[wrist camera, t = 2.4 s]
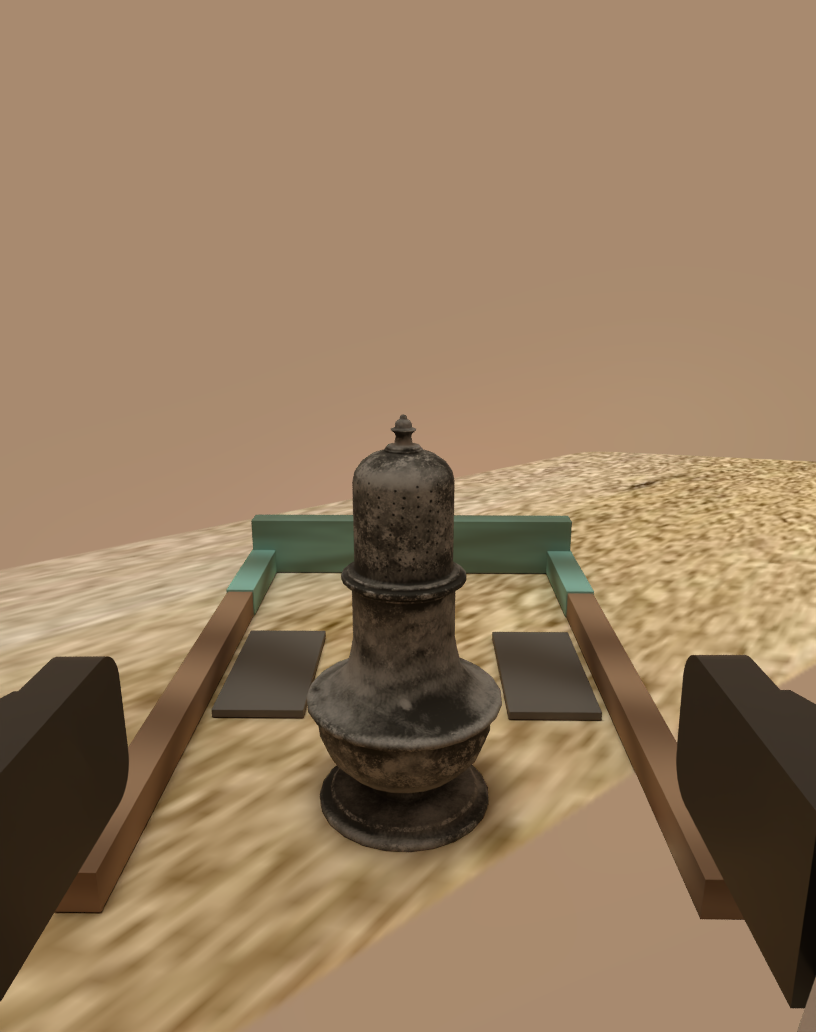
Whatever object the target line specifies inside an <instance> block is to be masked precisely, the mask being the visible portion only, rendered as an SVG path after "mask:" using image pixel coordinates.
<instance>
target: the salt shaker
mask: <svg viewBox="0 0 816 1032" xmlns="http://www.w3.org/2000/svg"><path fill="white" fill-rule="evenodd" d="M391 430H392V431H393V432H394V433H395V435H396V438H395V443H391V444H388V445H387V446H386V448H385V449H384V450H380V451H377V452H374V453H372V454H371V455H369V456H368V457H366V458H365V459H363V460H362V461H361V463H360V464H359V466H358V467H357V468H356V470H355V472H354V477H353V482H352V483H353V531H354V562H352V563H350V564H349V565H348V566H346V567H345V568H344V569H343V571H342V574H341V579H342V581H343V584H344V585H346V586H347V587H348V588H349V589H350V590H352V607H353V641H352V647H351V652H350V656H349V658H348V659H345V660H343V661H340V662H338V663H336V664H334V665H333V666H331V667H329V668H328V669H326V670H324V671H323V672H322V673H321V674H320V675H319V676H318V677H317V678H316V679H315V680H314V681H313V682H312V684H311V686H310V688H309V691H308V693H307V696H306V700H307V706H308V713H309V714H310V715H311V717H312V718H313V719H314V721H315V722H316V724H317V725H318V726H319V732H320V737H321V739H322V741H323V743H324V745H325V747H326V749H327V751H328V752H329V754H330V756H331V758H332V759H333V761H334V762H335V763H336V765H337V766H336V767H334V768H333V769H332V770H331V772H330V773H329V774H328V776H327V777H326V778H325V780H324V782H323V785H322V789H321V792H320V800H321V807H322V812H323V814H324V815H325V817H326V819H327V820H328V822H329V824H330V825H331V826H332V827H333V828H335V829H336V830H337V831H338V832H339V833H341V834H342V835H343V836H344V837H346V838H349V839H351V840H353V841H355V842H357V843H359V844H361V845H363V846H368V847H372V848H376V849H381V850H385V851H403V852H413V851H420V850H427V849H434V848H437V847H440V846H443V845H446V844H449V843H451V842H454V841H456V840H458V839H459V838H461V837H463V836H464V835H466V834H467V833H469V832H471V831H472V830H473V829H474V828H475V827H476V826H477V824H478V823H479V822H480V821H481V820H482V819H483V817H484V814H485V812H486V809H487V806H488V787H487V785H486V783H485V781H484V779H483V776H482V774H481V773H480V772H479V771H478V770H477V769H476V768H475V767H474V766H473V765H472V764H473V763H474V762H475V760H476V758H477V756H478V754H479V752H480V750H481V748H482V746H483V744H484V742H485V740H486V738H487V735H488V733H489V731H490V724H491V723H492V722H493V721H494V720H495V719H496V717H497V715H498V713H499V710H500V708H501V706H502V701H501V691H500V688H499V687H498V685H497V684H496V682H495V681H494V679H493V678H492V677H491V676H490V675H489V674H488V673H486V672H485V671H484V670H483V669H481V668H480V667H479V666H477V665H475V664H473V663H471V662H469V661H466V660H464V659H462V658H459V654H458V651H457V646H456V640H455V591H456V590H458V589H459V588H461V587H462V586H463V585H464V583H465V582H466V572H465V570H464V569H463V568H462V567H461V566H460V565H458V564H457V563H455V562H453V542H454V476H453V472H452V470H451V468H450V467H449V465H448V464H447V463H446V461H444V460H443V459H442V458H440V457H439V456H437V455H436V454H434V453H432V452H430V451H426V450H423V449H422V448H421V446H420V445H419V444H416V443H412V438H411V435H412V433H413V432H414V431H416V429H415V428H413V427H412V423H411V422H410V420H407V416H406V415H401V416H400V419H399V420H397V421H396V423H395V427H394V428H391Z"/></svg>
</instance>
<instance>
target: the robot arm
mask: <svg viewBox="0 0 816 1032" xmlns="http://www.w3.org/2000/svg"><path fill="white" fill-rule="evenodd" d="M676 770H677V779H678V785H679V790H680V793H681V797H682V800H683V802H684V804H685V806H686V808H687V810H688V812H689V814H690V816H691V818H692V820H693V822H694V824H695V826H696V827H697V829H698V831H699V833H700V835H701V837H702V839H703V841H704V843H705V845H706V847H707V849H708V851H709V852H710V854H711V856H712V858H713V860H714V862H715V864H716V866H717V868H718V870H719V872H720V874H721V876H722V877H723V879H724V881H725V883H726V885H727V887H728V889H729V891H730V893H731V895H732V897H733V899H734V900H735V902H736V904H737V906H738V908H739V910H740V912H741V914H742V916H743V918H744V920H745V922H746V923H747V925H748V927H749V929H750V931H751V933H752V935H753V937H754V939H755V941H756V943H757V945H758V946H759V948H760V950H761V952H762V954H763V956H764V958H765V960H766V962H767V964H768V966H769V967H770V970H771V972H772V973H773V975H774V977H775V979H776V981H777V983H778V985H779V987H780V989H781V991H782V993H783V994H784V997H785V998H786V1000H787V1002H788V1004H789V1006H790V1008H805V1010H804V1013H803V1016H802V1019H801V1022H800V1024H799V1027H798V1031H797V1032H816V704H814V703H812V702H810V701H809V700H807V699H805V698H803V697H802V696H800V695H798V694H796V693H794V692H793V691H791V690H780V689H779V688H778V687H777V686H776V685H775V684H774V683H773V682H772V680H771V679H770V678H769V677H768V676H767V675H766V674H765V673H764V672H763V671H762V670H761V669H760V667H759V666H758V665H757V664H756V663H755V662H754V661H753V660H752V659H751V658H750V657H749V656H747V655H691V656H690V657H689V658H688V659H687V661H686V664H685V668H684V674H683V685H682V696H681V707H680V719H679V730H678V741H677V753H676ZM128 772H129V753H128V744H127V736H126V728H125V720H124V711H123V703H122V695H121V687H120V679H119V672H118V668H117V665H116V663H115V661H114V660H113V659H112V658H111V657H55V658H53V659H51V660H50V661H49V662H48V663H47V664H46V665H45V666H44V667H43V668H42V669H41V670H40V671H39V672H38V673H37V674H36V675H35V676H34V677H33V678H32V679H30V680H29V681H28V682H27V683H26V684H25V685H24V686H23V687H22V688H21V689H20V690H19V691H13V692H12V693H10V694H8V695H6V696H4V697H2V698H0V1001H1V1000H2V999H3V997H4V995H5V994H6V992H7V990H8V989H9V987H10V985H11V984H12V982H13V980H14V979H15V977H16V975H17V974H18V972H19V970H20V969H21V967H22V965H23V964H24V962H25V960H26V959H27V957H28V955H29V954H30V952H31V950H32V949H33V947H34V945H35V944H36V942H37V940H38V939H39V937H40V935H41V934H42V932H43V930H44V929H45V927H46V925H47V924H48V922H49V920H50V919H51V917H52V915H53V914H54V912H55V910H56V909H57V907H58V905H59V904H60V902H61V900H62V899H63V897H64V895H65V894H66V892H67V890H68V889H69V887H70V885H71V884H72V882H73V880H74V879H75V877H76V876H77V874H78V872H79V871H80V869H81V867H82V866H83V864H84V862H85V861H86V859H87V857H88V856H89V854H90V852H91V851H92V849H93V847H94V846H95V844H96V842H97V841H98V839H99V837H100V836H101V834H102V832H103V831H104V829H105V827H106V826H107V824H108V822H109V821H110V819H111V817H112V816H113V814H114V812H115V811H116V809H117V807H118V806H119V804H120V802H121V800H122V798H123V795H124V792H125V789H126V785H127V780H128Z"/></svg>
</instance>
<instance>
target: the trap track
mask: <svg viewBox="0 0 816 1032" xmlns="http://www.w3.org/2000/svg"><path fill="white" fill-rule="evenodd" d="M251 522H252V539H253V550H252V551H251V553H250V554H249V556H248V557H247V559H246V560H245V562H244V564H243V565H242V567H241V568H240V570H239V571H238V573H237V574H236V576H235V577H234V579H233V581H232V582H231V584H230V585H229V587H228V588H227V594H226V595H225V597H224V598H223V600H222V601H221V603H220V605H219V606H218V608H217V609H216V611H215V612H214V614H213V615H212V617H211V619H210V620H209V622H208V623H207V625H206V626H205V628H204V630H203V631H202V633H201V634H200V636H199V637H198V639H197V641H196V642H195V644H194V645H193V647H192V648H191V650H190V651H189V653H188V655H187V656H186V658H185V659H184V661H183V662H182V664H181V666H180V667H179V669H178V670H177V672H176V673H175V675H174V676H173V678H172V680H171V681H170V683H169V684H168V686H167V687H166V689H165V691H164V692H163V694H162V695H161V697H160V698H159V700H158V702H157V703H156V705H155V706H154V708H153V709H152V711H151V712H150V714H149V716H148V717H147V719H146V720H145V722H144V723H143V725H142V727H141V728H140V730H139V731H138V733H137V734H136V736H135V737H134V739H133V741H132V742H131V744H130V745H129V747H128V753H129V772H128V780H127V785H126V789H125V792H124V795H123V798H122V800H121V802H120V804H119V806H118V807H117V809H116V811H115V812H114V814H113V816H112V817H111V819H110V821H109V822H108V824H107V826H106V827H105V829H104V831H103V832H102V834H101V836H100V837H99V839H98V841H97V842H96V844H95V846H94V847H93V849H92V851H91V852H90V854H89V856H88V857H87V859H86V861H85V862H84V864H83V866H82V867H81V869H80V871H79V872H78V874H77V876H76V877H75V879H74V880H73V882H72V884H71V885H70V887H69V889H68V890H67V892H66V894H65V895H64V897H63V899H62V900H61V902H60V904H59V905H58V907H57V909H56V910H55V912H101V911H102V909H103V907H104V905H105V903H106V901H107V900H108V898H109V896H110V894H111V892H112V890H113V888H114V886H115V884H116V882H117V880H118V878H119V876H120V874H121V872H122V870H123V868H124V866H125V865H126V863H127V861H128V859H129V857H130V855H131V853H132V851H133V849H134V847H135V845H136V843H137V841H138V839H139V837H140V835H141V833H142V831H143V829H144V828H145V826H146V824H147V822H148V820H149V818H150V816H151V814H152V812H153V810H154V808H155V806H156V804H157V802H158V800H159V798H160V796H161V794H162V793H163V791H164V789H165V787H166V785H167V783H168V781H169V779H170V777H171V775H172V773H173V771H174V769H175V767H176V765H177V763H178V761H179V759H180V757H181V756H182V754H183V752H184V750H185V748H186V746H187V744H188V742H189V740H190V738H191V736H192V734H193V732H194V730H195V728H196V726H197V724H198V722H199V720H200V719H201V717H202V715H203V713H204V711H205V709H206V707H207V705H208V703H209V701H210V699H211V697H212V695H213V693H214V691H215V689H216V687H217V685H218V684H219V682H220V680H221V678H222V676H223V674H224V672H225V670H226V668H227V666H228V664H229V662H230V660H231V658H232V656H233V654H234V652H235V650H236V648H237V647H238V645H239V643H240V641H241V639H242V637H243V635H244V633H245V631H246V629H247V627H248V625H249V623H250V621H251V619H252V617H253V615H255V613H256V612H257V610H258V608H259V606H260V604H261V602H262V600H263V598H264V596H265V594H266V592H267V590H268V588H269V586H270V584H271V582H272V580H273V578H274V576H275V574H276V572H342V571H343V569H344V568H345V567H346V566H348V565H349V564H350V563H352V562H354V531H353V515H255V517H254V518H253V519H252V521H251ZM571 527H572V521H571V520H570V518H569V517H568V516H473V515H454V542H453V562H455V563H457V564H458V565H460V566H461V567H462V568H463V569H464V570H465V572H466V573H546V574H547V576H548V578H549V581H550V583H551V585H552V587H553V590H554V592H555V594H556V597H557V599H558V601H559V603H560V606H561V608H562V610H563V612H564V615H565V616H566V617H567V619H568V621H569V624H570V626H571V628H572V630H573V633H574V635H575V637H576V639H577V642H578V644H579V646H580V648H581V651H582V653H583V655H584V657H585V660H586V662H587V664H588V667H589V669H590V671H591V673H592V676H593V678H594V680H595V682H596V685H597V687H598V689H599V691H600V694H601V696H602V698H603V700H604V703H605V705H606V707H607V709H608V712H609V714H610V716H611V718H612V721H613V723H614V725H615V727H616V730H617V732H618V734H619V736H620V739H621V741H622V743H623V745H624V748H625V750H626V752H627V754H628V757H629V759H630V761H631V763H632V766H633V768H634V770H635V773H636V775H637V777H638V779H639V782H640V784H641V786H642V788H643V790H644V793H645V795H646V797H647V799H648V802H649V804H650V806H651V808H652V811H653V813H654V815H655V817H656V820H657V822H658V824H659V827H660V829H661V831H662V833H663V835H664V838H665V840H666V842H667V844H668V847H669V849H670V851H671V854H672V856H673V858H674V860H675V863H676V865H677V867H678V869H679V872H680V874H681V876H682V878H683V881H684V883H685V885H686V888H687V890H688V892H689V894H690V896H691V899H692V901H693V903H694V906H695V908H696V910H697V912H698V915H699V917H700V919H732V920H735V919H736V920H744V918H743V916H742V914H741V912H740V910H739V908H738V906H737V904H736V902H735V900H734V899H733V897H732V895H731V893H730V891H729V889H728V887H727V885H726V883H725V881H724V879H723V877H722V876H721V874H720V872H719V870H718V868H717V866H716V864H715V862H714V860H713V858H712V856H711V854H710V852H709V851H708V849H707V847H706V845H705V843H704V841H703V839H702V837H701V835H700V833H699V831H698V829H697V827H696V826H695V824H694V822H693V820H692V818H691V816H690V814H689V812H688V810H687V808H686V806H685V804H684V802H683V800H682V797H681V793H680V790H679V785H678V779H677V770H676V753H677V742H676V740H675V739H674V737H673V735H672V733H671V731H670V730H669V728H668V726H667V724H666V723H665V721H664V719H663V717H662V715H661V714H660V712H659V710H658V708H657V707H656V705H655V703H654V701H653V700H652V698H651V696H650V694H649V692H648V691H647V689H646V687H645V685H644V684H643V682H642V680H641V678H640V676H639V675H638V673H637V671H636V669H635V668H634V666H633V664H632V662H631V660H630V659H629V657H628V655H627V653H626V652H625V650H624V648H623V646H622V645H621V643H620V641H619V639H618V637H617V636H616V634H615V632H614V630H613V629H612V627H611V625H610V623H609V621H608V620H607V618H606V616H605V614H604V613H603V611H602V609H601V607H600V605H599V604H598V602H597V600H596V598H595V597H594V591H593V589H592V587H591V586H590V584H589V582H588V580H587V579H586V577H585V575H584V573H583V572H582V570H581V568H580V566H579V565H578V563H577V561H576V559H575V558H574V556H573V554H572V552H571V551H570V544H571ZM325 637H326V634H325V631H251V632H250V634H249V636H248V638H247V640H246V642H245V644H244V646H243V648H242V650H241V652H240V654H239V656H238V658H237V660H236V662H235V664H234V666H233V668H232V670H231V672H230V674H229V676H228V678H227V680H226V682H225V684H224V686H223V688H222V690H221V692H220V694H219V696H218V698H217V700H216V702H215V704H214V706H213V708H212V717H292V718H303V717H304V714H305V710H306V707H307V700H306V696H307V693H308V691H309V688H310V686H311V684H312V682H313V681H314V677H315V674H316V670H317V666H318V663H319V659H320V656H321V652H322V648H323V645H324V641H325ZM492 639H493V644H494V649H495V654H496V659H497V663H498V668H499V673H500V678H501V683H502V688H503V693H504V698H505V703H506V708H507V713H508V717H509V719H554V720H601V717H602V712H601V709H600V707H599V705H598V702H597V700H596V698H595V695H594V693H593V691H592V688H591V686H590V684H589V681H588V679H587V677H586V674H585V672H584V670H583V667H582V665H581V663H580V660H579V658H578V656H577V653H576V651H575V649H574V646H573V644H572V641H571V639H570V637H569V634H568V632H492Z"/></svg>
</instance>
